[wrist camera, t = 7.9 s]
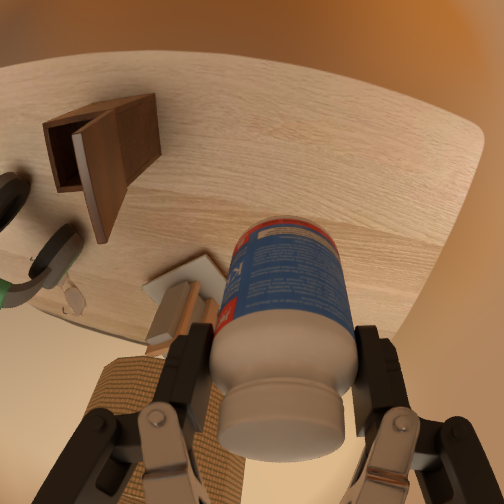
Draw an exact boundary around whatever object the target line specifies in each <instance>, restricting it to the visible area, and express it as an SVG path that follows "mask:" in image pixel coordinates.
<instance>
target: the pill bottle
mask: <svg viewBox="0 0 504 504" xmlns="http://www.w3.org/2000/svg"><path fill="white" fill-rule="evenodd" d="M358 366H359V360H358V351H357V344H356V338H355V333H354V327H353V322H352V317H351V311H350V306H349V301H348V296H347V291H346V286H345V281H344V276H343V270H342V266H341V261H340V257H339V253H338V250H337V247H336V245H335V243H334V241H333V239H332V238H331V236H330V235H329V234H328V233H327V232H326V231H325V230H324V229H323V228H322V227H321V226H319V225H318V224H316V223H314V222H312V221H310V220H308V219H305V218H301V217H297V216H288V215H285V216H274V217H270V218H267V219H264V220H262V221H260V222H258V223H256V224H254V225H253V226H251V227H250V228H249V229H248V230H246V231H245V232H244V234H243V235H242V236H241V237H240V239H239V241H238V242H237V244H236V247H235V249H234V252H233V255H232V260H231V264H230V268H229V273H228V277H227V281H226V285H225V290H224V294H223V299H222V303H221V307H220V312H219V316H218V321H217V325H216V329H215V333H214V338H213V342H212V346H211V352H210V358H209V369H210V374H211V377H212V380H213V382H214V383H215V385H216V387H217V388H218V389H219V391H220V392H221V393H222V394H223V395H224V397H223V400H222V402H221V404H220V407H219V419H218V427H217V440H218V442H219V444H220V445H221V446H222V447H223V448H225V449H226V450H228V451H229V452H232V453H234V454H236V455H239V456H242V457H245V458H248V459H253V460H259V461H266V462H298V461H306V460H312V459H316V458H320V457H322V456H325V455H328V454H330V453H332V452H334V451H335V450H337V449H338V448H339V447H340V446H341V445H342V444H343V442H344V439H345V425H344V424H345V423H344V406H343V401H342V398H341V397H342V396H343V395H344V394H345V393H346V392H347V391H348V390H349V388H350V387H351V386H352V384H353V383H354V381H355V379H356V376H357V373H358Z"/></svg>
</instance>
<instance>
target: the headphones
mask: <svg viewBox="0 0 504 504" xmlns="http://www.w3.org/2000/svg"><path fill="white" fill-rule="evenodd" d="M29 190H30V187H29V185H28V183H27V182H26V181H25V180H24V179H21V178H20V177H19V176H18V175H17V174H15V173H13V172H7V173H4V174H2V175H0V232H1V231H2V230H3V229H4V228H5V227H6V226H7V225H8V224H9V223H10V222H11V221H12V220H13V219H14V217H15V216H16V215H17V213H18V212H19V211H20V209H21V207H22V206H23V204H24V203H25V201H26V199H27V196H28V194H29ZM83 244H84V243H83V240H82V238H81V237H80V236H79V235H78V234H77V233H76V231H75V229H74V228H73V227H72V226H71V225H70V224H65V225H64V226H62V227H61V228H60V229H59V230H58V231H57V232H56V233H55V234H54V235H53V236H52V237H51V238H50V240H49V241H48V242H47V243H46V245H45V246H44V247H43V249H42V250H41V251H40V253H39V254H38V256H37V257H36V259H35V260H34V262H33V264H32V266H31V268H30V270H29V273H28V275H29V277H30V278H31V279H32V280H31V281H29V282H26V283H22V284H12V283H11V282H8V281H5V280H3V279H1V278H0V309H1V308H13V307H16V306H19V305H22V304H23V303H25V302H27V301H28V300H29V299H31V298H32V297H33V296H34V295H35V294H36V293H37V292H38V291H39V290H40V289H41V288H42V287H43V288H45V289H52V288H54V287H55V286H56V285H57V284H58V282H59V281H60V280H61V279H62V277H63V276H64V275H65V273H66V272H67V271H68V269H69V268H70V267H71V265H72V264H73V262H74V261H75V260H76V258H77V257H78V256H79V254H80V253H81V251H82V249H83Z"/></svg>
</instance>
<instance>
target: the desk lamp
mask: <svg viewBox="0 0 504 504" xmlns="http://www.w3.org/2000/svg"><path fill="white" fill-rule="evenodd" d="M226 281H227V279H226V278H225V276H224V275H223V274H222V273H221V271H220V270H219V269H218V268H217V266H216V265H215V264H214V262H213V261H212V260H211V259H210V257H209V256H208V255H207V254H204V255H202V256H200V257H198V258H196V259H194V260H192V261H189V262H187V263H185V264H183V265H181V266H179V267H177V268H175V269H173V270H171V271H169V272H167V273H165V274H163V275H161V276H159V277H157V278H155V279H153V280H151V281H149V282H147V283H145V284H143V285H142V286H141V288H142V289H143V290H144V291H145V292H146V293H147V294H148V295H149V296H150V298H151V299H152V300H153V301H154V302H155V303H156V304H157V305H158V306H159V308H158V310H157V313H156V315H155V317H154V320H153V322H152V325H151V327H150V330H149V332H148V334H147V337H146V339H145V340H146V341H147V342H148V343H149V345H148V347H147V350H146V353H145V355H146V356H136V357H124V358H117V359H116V360H114V361H113V362H111V363H110V364H108V365H107V366H105V367H104V369H103V371H102V374H101V376H100V379H99V381H98V383H97V385H96V387H95V390H94V392H93V395H92V397H91V399H90V402H89V404H88V406H87V409H86V411H85V414H84V416H85V415H86V414H87V413H88V412H89V411H90V410H92V409H95V408H106V409H108V410H110V411H111V412H112V413H113V414H114V415H121V414H130V413H136V412H139V411H141V410H142V408H143V407H145V406H146V405H148V404H150V403H151V401H152V399H153V396H154V393H155V390H156V387H157V384H158V381H159V378H160V375H161V372H162V369H163V366H164V362H165V359H160V358H154V357H156V356H159V355H162V356H163V357H164V358H166V357H167V353H168V350H169V348H170V345H171V343H172V342H173V341H174V340H175V339H176V338H177V336H178V335H188V333H189V330H190V327H191V324H192V323H193V322H200V323H212V325H213V329H214V333H215V329H216V325H217V321H218V316H219V312H220V307H221V303H222V299H223V294H224V290H225V285H226ZM223 397H224V395H223V394H222V393H221V392H220V391H219V389H218V388H217V387H216V385H215V383H214V382H213V384H212V389H211V394H210V399H209V404H208V409H207V414H206V419H205V424H204V429H203V433H198V432H195V433H194V438H193V443H192V444H193V447H194V451H195V455H196V458H197V462H198V466H199V469H200V473H201V476H202V480H203V483H204V486H205V489H206V491H207V493H208V496H209V499H210V501H211V504H240V502H241V494H242V486H243V478H244V469H245V460H246V458H245V457H242V456H239V455H236V454H234V453H232V452H229V451H228V450H226V449H225V448H223V447H222V446H221V445H220V444H219V442H218V440H217V427H218V419H219V407H220V404H221V402H222V400H223ZM84 416H83V418H84ZM144 473H145V467H144V462H139V463H138V465H137V467H136V469H135V471H134V473H133V475H132V476H131V478H130V480H129V482H128V484H127V486H126V488H125V490H124V492H123V494H122V496H121V498H120V500H119V501H118V503H117V504H146V501H145V496H144V490H143V485H142V475H143V474H144Z"/></svg>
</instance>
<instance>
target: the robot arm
mask: <svg viewBox="0 0 504 504" xmlns="http://www.w3.org/2000/svg"><path fill="white" fill-rule="evenodd" d="M354 333H355V338H356V344H357V351H358V360H359V366H358V373H357V376H356V379H355V381H354V383H353V384H352V386H351V387H352V395H353V404H354V414H355V424H356V435H357V437H362V436H363V437H364V436H365V443H366V445H365V447H364V449H363V451H362V454H361V457H360V459H359V462H358V465H357V467H356V470H355V472H354V475H353V477H352V480H351V482H350V484H349V487H348V489H347V491H346V493H345V495H344V496H343V498H342V500H341V502H340V504H404V503H405V500H406V497H407V494H408V491H409V485H410V483H409V481H408V473H409V470H410V469H413V470H414V471H415V474H416V477H417V479H418V482H419V485H420V488H421V491H422V494H423V497H424V500H425V503H426V504H504V498H503V496H502V494H501V491H500V488H499V485H498V483H497V480H496V478H495V475H494V473H493V471H492V468H491V466H490V464H489V461H488V459H487V457H486V454H485V452H484V450H483V448H482V445H481V443H480V441H479V439H478V437H477V435H476V433H475V430H474V428H473V426H472V424H471V423H470V422H469V421H468V420H467V419H465V418H463V417H460V416H455V417H451V418H449V419H447V420H446V421H445V422H444V423H443V422H436V421H430V420H425V419H423V418H421V417H419V416H417V414H416V413H415V412H414V411H413V410H412V409H411V407H410V405H409V401H408V397H407V392H406V388H405V384H404V379H403V375H402V371H401V367H400V363H399V362H398V360H399V359H398V355H397V352H396V348H395V347H394V346H393V344H392V343H391V342H390V340H389V339H388V338H383V339H379V335H378V331H377V328H376V326H375V325H365V326H356V327H355V331H354ZM213 338H214V329H213V325H212V323H200V322H193V323H192V324H191V327H190V330H189V333H188V335H178V336H177V338H176V339H175V340H174V341H173V342H172V343H171V345H170V348H169V350H168V353H167V357H166V359H165V362H164V366H163V369H162V372H161V375H160V378H159V381H158V384H157V387H156V390H155V393H154V396H153V399H152V401H151V403H150V404H148V405H146V406H145V407H143V408H142V410H141V411H139V412H136V413H130V414H121V415H114V414H113V413H112V412H111V411H110V410H108V409H106V408H95V409H92V410H90V411H89V412H88V413H87V414H86V415H85V416H84V418H83V419H82V421H81V422H80V424H79V426H78V427H77V429H76V430H75V432H74V433H73V435H72V437H71V438H70V440H69V441H68V443H67V445H66V446H65V448H64V450H63V451H62V453H61V454H60V456H59V458H58V459H57V461H56V463H55V464H54V466H53V468H52V469H51V471H50V473H49V474H48V476H47V478H46V480H45V481H44V483H43V485H42V486H41V488H40V490H39V491H38V493H37V495H36V497H35V498H34V500H33V502H32V503H31V504H117V503H118V501H119V500H120V498H121V496H122V494H123V492H124V490H125V488H126V486H127V484H128V482H129V480H130V478H131V476H132V475H133V473H134V471H135V469H136V467H137V465H138V463H139V462H144V467H145V473H144V474H143V475H142V485H143V490H144V496H145V501H146V504H211V501H210V499H209V496H208V493H207V491H206V489H205V486H204V483H203V480H202V476H201V473H200V469H199V466H198V462H197V458H196V455H195V451H194V447H193V444H192V443H193V438H194V433H195V432H198V433H203V429H204V424H205V419H206V414H207V409H208V404H209V399H210V394H211V389H212V384H213V380H212V377H211V374H210V369H209V358H210V352H211V346H212V342H213Z"/></svg>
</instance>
